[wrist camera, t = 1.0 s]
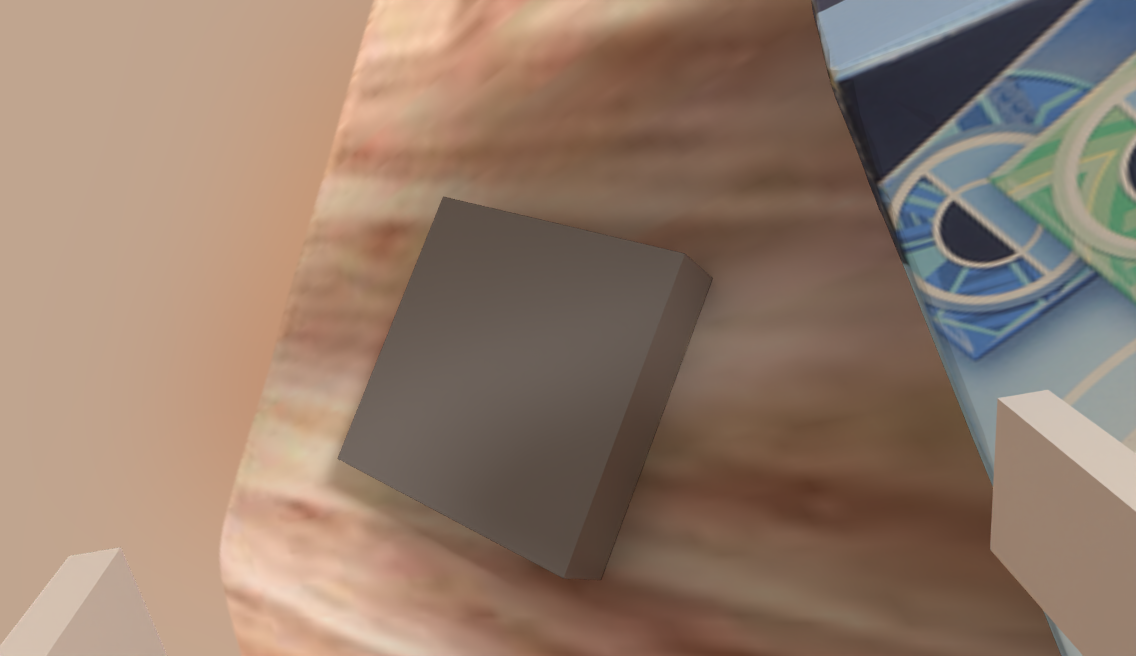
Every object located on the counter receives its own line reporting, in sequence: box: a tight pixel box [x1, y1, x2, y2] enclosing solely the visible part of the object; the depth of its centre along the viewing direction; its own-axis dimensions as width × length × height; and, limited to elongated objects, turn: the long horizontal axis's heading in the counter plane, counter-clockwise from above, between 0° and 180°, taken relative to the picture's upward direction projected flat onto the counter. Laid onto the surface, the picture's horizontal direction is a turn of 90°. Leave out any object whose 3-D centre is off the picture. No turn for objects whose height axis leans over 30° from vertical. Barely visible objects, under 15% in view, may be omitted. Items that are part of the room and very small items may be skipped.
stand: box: [338, 197, 712, 580], centre depth 36 cm, size 13×13×3 cm
